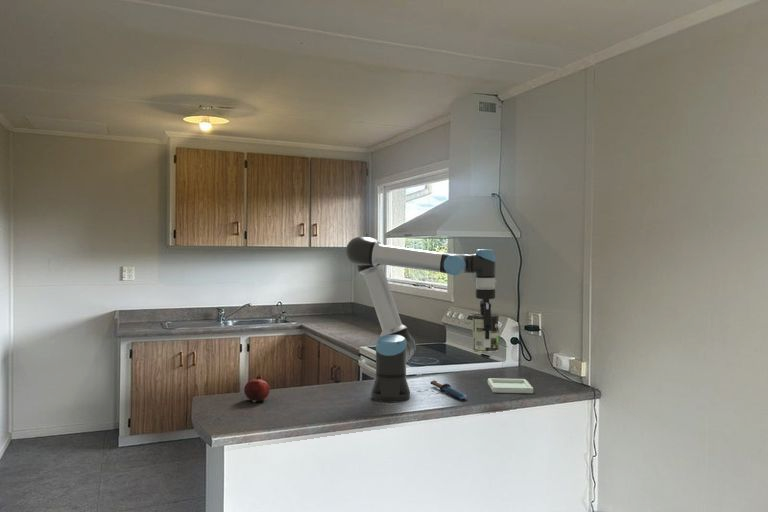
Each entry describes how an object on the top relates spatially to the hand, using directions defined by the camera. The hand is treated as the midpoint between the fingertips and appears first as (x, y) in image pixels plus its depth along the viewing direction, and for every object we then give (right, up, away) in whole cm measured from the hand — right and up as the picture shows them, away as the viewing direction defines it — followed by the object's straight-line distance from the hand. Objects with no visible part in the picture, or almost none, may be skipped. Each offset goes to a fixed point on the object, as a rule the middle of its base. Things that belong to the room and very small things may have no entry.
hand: (485, 344), depth 227 cm
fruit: (-88, -20, -10) cm, 90 cm away
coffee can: (0, -3, 0) cm, 3 cm away
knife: (-14, -20, +4) cm, 25 cm away
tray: (+12, -20, +13) cm, 27 cm away
